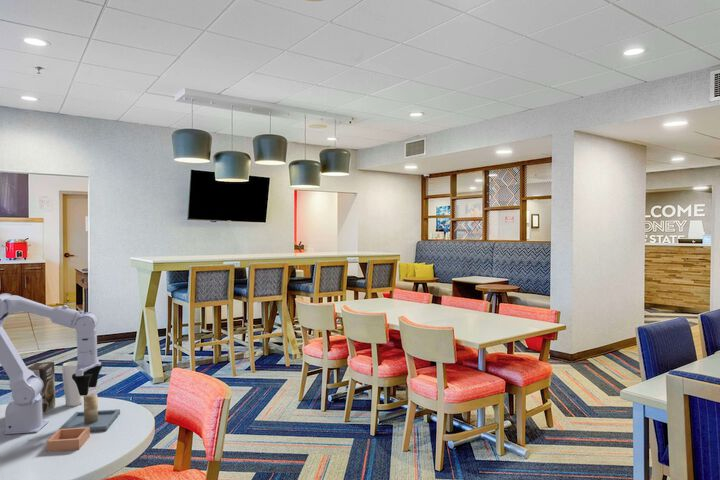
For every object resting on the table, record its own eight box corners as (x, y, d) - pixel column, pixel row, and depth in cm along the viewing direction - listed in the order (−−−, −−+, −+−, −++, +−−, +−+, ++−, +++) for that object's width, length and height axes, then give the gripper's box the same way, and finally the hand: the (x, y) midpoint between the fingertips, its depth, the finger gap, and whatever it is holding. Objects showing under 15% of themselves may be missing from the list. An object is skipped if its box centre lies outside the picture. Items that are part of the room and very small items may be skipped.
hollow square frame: (47, 451, 145) (46, 441, 145) (59, 438, 154) (59, 429, 153) (79, 449, 147) (78, 439, 146) (89, 436, 155) (89, 427, 155)
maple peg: (82, 424, 163) (81, 398, 162) (86, 419, 167) (86, 394, 166) (95, 423, 163) (95, 397, 163) (99, 418, 167) (99, 393, 167)
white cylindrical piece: (89, 401, 185) (87, 360, 184) (76, 408, 178) (75, 366, 177) (71, 400, 185) (70, 360, 185) (59, 407, 179) (57, 365, 178)
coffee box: (44, 415, 171) (43, 369, 171) (24, 416, 170) (22, 369, 170) (56, 405, 180) (55, 361, 180) (36, 406, 179) (35, 362, 179)
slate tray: (58, 433, 157) (58, 429, 157) (76, 416, 171) (76, 411, 171) (106, 430, 159) (106, 426, 159) (120, 413, 173) (120, 409, 173)
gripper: (92, 355, 158) (93, 398, 159) (107, 344, 173) (108, 383, 173) (68, 356, 157) (69, 399, 158) (85, 345, 172) (86, 384, 172)
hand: (88, 391), depth 166 cm, fingers open, 7 cm apart
